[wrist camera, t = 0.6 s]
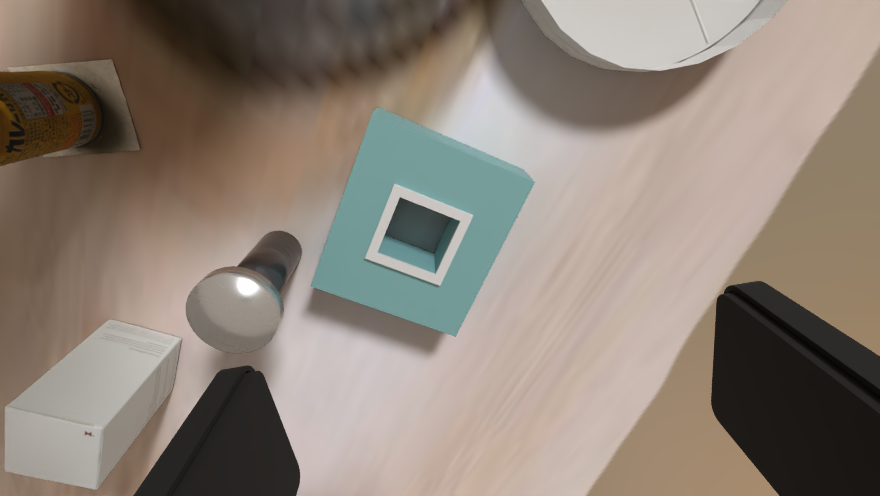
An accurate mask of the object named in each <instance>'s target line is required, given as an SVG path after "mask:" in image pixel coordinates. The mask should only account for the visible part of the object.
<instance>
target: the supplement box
mask: <svg viewBox="0 0 880 496" xmlns="http://www.w3.org/2000/svg"><path fill="white" fill-rule="evenodd" d="M180 345H181V338H178V337H175V336H172V335H168V334H164V333H161V332H157V331H153V330H150V329H146V328H143V327H139V326H135V325H131V324H127V323H124V322H120V321H116V320H108V321H106V322H105V323H104V324H103V325H102V326H100V327H99V328H98V329H97V330H96V331H94V332H93V333H92V334H91V335H90V336H89V337H87V338H86V339H85V340H84V341H83V342H81V343H80V344H79V345H78V346H77V347H76V348H74V349H73V350H72V351H71V352H70V353H68V354H67V355H66V356H65V357H64V358H63V359H61V360H60V361H59V362H58V363H57V364H56V365H54V366H53V367H52V368H51V369H50V370H48V371H47V372H46V373H45V374H44V375H43V376H41V377H40V378H39V379H38V380H37V381H35V382H34V383H33V384H32V385H31V386H30V387H28V388H27V389H26V390H25V391H24V392H22V393H21V394H20V395H19V396H18V397H17V398H15V399H14V400H13V401H12V402H11V403H9V404H8V405H7V406H6V407H5V457H4V471H6V472H10V473H15V474H19V475H24V476H29V477H34V478H39V479H43V480H48V481H53V482H59V483H64V484H69V485H74V486H79V487H84V488H89V489H93V490H97V489H98V488H99V486H100V485H101V484H102V482H103V481H104V480H105V479H106V477H107V476H108V475H109V473H110V472H111V471H112V469H113V468H114V467H115V465H116V464H117V463H118V461H119V460H120V459H121V457H122V456H123V455H124V453H125V452H126V451H127V449H128V448H129V447H130V445H131V444H132V443H133V441H134V440H135V439H136V437H137V436H138V435H139V433H140V432H141V431H142V429H143V428H144V427H145V425H146V424H147V423H148V421H149V420H150V419H151V417H152V416H153V415H154V413H155V412H156V411H157V409H158V408H159V407H160V405H161V404H162V403H163V401H164V400H165V399H166V398H167V396H168V395H169V394H170V392H171V391H172V389H173V384H174V379H175V374H176V368H177V362H178V356H179V351H180Z"/></svg>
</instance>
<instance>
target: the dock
mask: <svg viewBox="0 0 880 496" xmlns="http://www.w3.org/2000/svg"><path fill="white" fill-rule="evenodd" d="M534 183H535V182H534V181H533V180H532V178H531V177H530V176H529V175H528V174H527V173H526V172H525V171H524V170H523V169H521V168H519V167H516V166H514V165H512V164H509V163H507V162H505V161H502V160H500V159H498V158H495V157H493V156H491V155H488V154H486V153H484V152H481V151H479V150H477V149H475V148H472V147H470V146H468V145H465V144H463V143H461V142H458V141H456V140H454V139H451V138H449V137H447V136H444V135H442V134H440V133H437V132H435V131H433V130H430V129H428V128H426V127H423V126H421V125H419V124H416V123H414V122H412V121H409V120H407V119H405V118H402V117H400V116H398V115H395V114H393V113H391V112H388V111H386V110H384V109H381V108H379V107H378V108H377V109H376V110H375V111H374V112H373V113H372V116H371V119H370V121H369V124H368V127H367V130H366V133H365V135H364V138H363V141H362V144H361V147H360V149H359V152H358V155H357V158H356V160H355V163H354V166H353V169H352V172H351V174H350V177H349V180H348V183H347V186H346V188H345V191H344V194H343V197H342V200H341V202H340V205H339V208H338V211H337V214H336V216H335V219H334V222H333V225H332V227H331V230H330V233H329V236H328V239H327V241H326V244H325V247H324V250H323V253H322V255H321V258H320V261H319V264H318V267H317V269H316V272H315V275H314V278H313V281H312V283H311V287H314V288H317V289H319V290H322V291H325V292H328V293H331V294H334V295H337V296H340V297H343V298H345V299H348V300H351V301H354V302H357V303H360V304H363V305H366V306H368V307H371V308H374V309H377V310H380V311H383V312H386V313H389V314H392V315H394V316H397V317H400V318H403V319H406V320H409V321H412V322H415V323H418V324H420V325H423V326H426V327H429V328H432V329H435V330H438V331H441V332H444V333H446V334H449V335H452V336H455V337H456V335H457V333H458V331H459V329H460V327H461V325H462V323H463V321H464V319H465V317H466V315H467V313H468V311H469V309H470V308H471V306H472V304H473V302H474V300H475V298H476V296H477V294H478V292H479V290H480V288H481V286H482V284H483V282H484V280H485V278H486V276H487V274H488V272H489V270H490V269H491V267H492V265H493V263H494V261H495V259H496V257H497V255H498V253H499V251H500V249H501V247H502V245H503V243H504V241H505V239H506V237H507V235H508V233H509V231H510V230H511V228H512V226H513V224H514V222H515V220H516V218H517V216H518V214H519V212H520V210H521V208H522V206H523V204H524V202H525V200H526V198H527V196H528V194H529V192H530V191H531V189H532V187H533V185H534ZM400 197H401V198H403V199H406V200H408V201H411V202H414V203H416V204H419V205H421V206H424V207H426V208H429V209H431V210H434V211H436V212H439V213H441V214H444V215H446V216H449V217H451V218H450V220H449V222H448V224H447V226H446V229H445V231H444V233H443V235H442V237H441V240H440V242H439V244H438V246H437V248H436V251H435V253H432V252H429V251H426V250H424V249H421V248H419V247H416V246H413V245H411V244H408V243H405V242H403V241H400V240H397V239H395V238H392V237H389V236H387V235H385V233H386V230H387V228H388V225H389V223H390V220H391V218H392V215H393V213H394V210H395V208H396V205H397V203H398V201H399V198H400Z"/></svg>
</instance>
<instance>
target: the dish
mask: <svg viewBox="0 0 880 496" xmlns="http://www.w3.org/2000/svg"><path fill="white" fill-rule="evenodd" d="M521 1H522V3H523V5H524V7H525V8H526V9H527V11H528V12H529V14H530V15H531V17H532V18H533V20H534V21H535V22H536V24H537V25H538V27H539V28H540V30H541V31H542V33H543V34H544V35H545V36H546V37H548V38H549V39H550V40H551V41H553V42H554V43H555V44H556V45H557V46H559V47H560V48H561V49H562V50H564V51H565V52H566V53H567V54H568V55H570V56H571V57H574V58H576V59H579V60H581V61H584V62H586V63H588V64H591V65H593V66H596V67H598V68H601V69H609V70H620V71H632V72H649V71H654V70H658V71H663V70H668V69H673V68H678V67H683V66H688V65H693V64H699V63H701V62H703V61H705V60H708V59H710V58H712V57H714V56H716V55H718V54H720V53H723V52H725V51H727V50H729V49H731V48H733V47H735V46H737V45H739V44H740V43H741V42H742V41H744V40H745V39H746V38H748V37H749V36H750V35H751V34H753V33H754V32H755V31H757V30H758V29H759V28H760V27H762V26H763V25H764V24H765V23H767V22H768V21H769V20H771V19H772V18H773V17H774V16H775V15H776V13H777V12H778V11H779V10H780V9H781V8H782V6H783V5H784V4H785V3H786V2H787V1H788V0H521Z"/></svg>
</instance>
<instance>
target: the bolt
mask: <svg viewBox="0 0 880 496" xmlns="http://www.w3.org/2000/svg"><path fill="white" fill-rule="evenodd" d="M301 256H302V249H301V246H300V244H299V242H298V240H297V239H296V238H295V237H294V236H292V235H291V234H289V233H287V232H283V231H273V232H270V233H268V234H266V235H265V236H264V237H263V238H262V239H261V240H260V241H259V242H258V244H257V245H256V246H255V247H254V248H253V249H252V250H251V251H250V253H249V254H248V255H247V256H246V257H245V258H244V259H243V260H242V262H241V263H240V264H239V265H238V266H237V267H224V268H220V269H217V270H214V271H212V272H211V273H209V274H208V275H206V276H205V277H204V278H203V279H202V280H201V281H200V282H199V283H198V284H197V285H196V286H195V287H194V288H193V290H192V291H191V292H190V294H189V296H188V299H187V302H186V316H187V319H188V322H189V324H190V326H191V328H192V329H193V331H194V332H195V333H196V335H197V336H198V337H199V338H200V339H201V340H203V341H204V342H205V343H207V344H208V345H210V346H212V347H214V348H216V349H218V350H221V351H225V352H229V353H248V352H252V351H255V350H258V349H260V348H262V347H263V346H265V345H266V344H267V343H268V342H269V341H270V340H271V339H272V337H273V336H274V334H275V332H276V331H277V329H278V327H279V325H280V323H281V321H282V318H283V312H284V307H283V301H282V298H281V295H280V292H281V290H282V289H283V287H284V285H285V284H286V282H287V281H288V279H289V277H290V276H291V274H292V272H293V271H294V269H295V267H296V266H297V264H298V262H299V261H300V259H301Z"/></svg>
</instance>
